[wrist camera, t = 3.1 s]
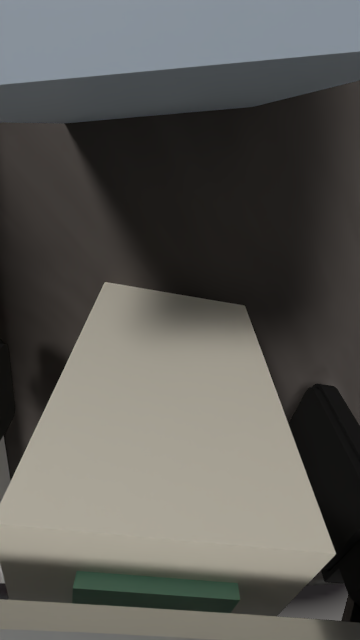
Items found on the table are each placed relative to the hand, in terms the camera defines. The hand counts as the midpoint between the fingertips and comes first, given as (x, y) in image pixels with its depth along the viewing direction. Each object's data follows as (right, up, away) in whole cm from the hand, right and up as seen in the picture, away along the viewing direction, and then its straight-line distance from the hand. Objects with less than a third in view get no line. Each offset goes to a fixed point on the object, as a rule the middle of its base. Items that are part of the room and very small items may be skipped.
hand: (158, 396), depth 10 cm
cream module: (0, +1, +1) cm, 2 cm away
